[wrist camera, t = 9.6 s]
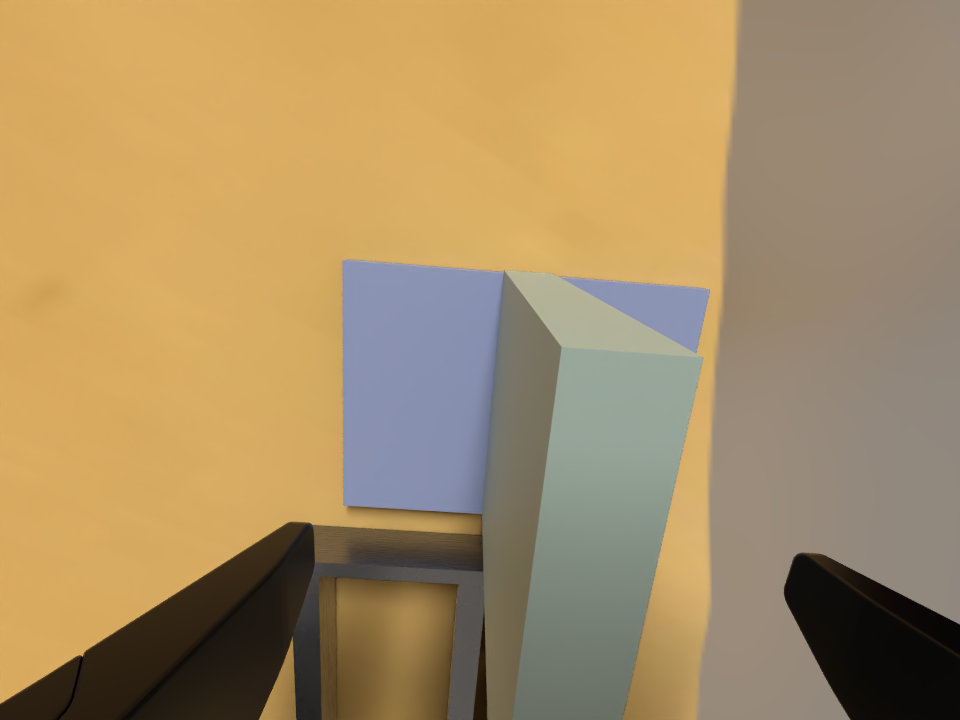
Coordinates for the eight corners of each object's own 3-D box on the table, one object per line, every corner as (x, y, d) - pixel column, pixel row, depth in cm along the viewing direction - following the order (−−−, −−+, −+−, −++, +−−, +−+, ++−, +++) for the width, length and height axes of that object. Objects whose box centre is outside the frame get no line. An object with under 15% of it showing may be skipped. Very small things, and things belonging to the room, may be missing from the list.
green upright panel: (524, 513, 17) (587, 876, 8) (481, 511, 17) (491, 872, 7) (553, 273, 15) (703, 357, 5) (504, 269, 15) (562, 347, 5)
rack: (578, 774, 22) (588, 827, 20) (316, 763, 21) (300, 816, 20) (624, 543, 18) (642, 581, 16) (309, 525, 18) (289, 560, 16)
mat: (652, 515, 18) (658, 524, 17) (347, 496, 18) (343, 505, 17) (701, 287, 15) (710, 290, 15) (347, 259, 15) (342, 260, 14)
